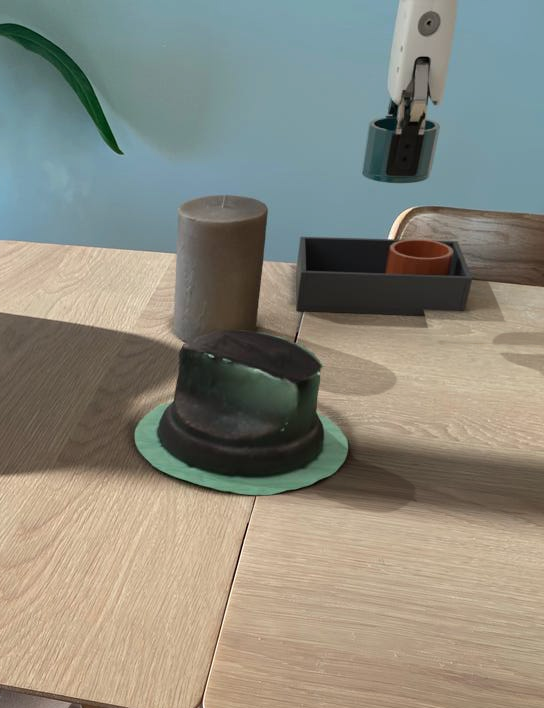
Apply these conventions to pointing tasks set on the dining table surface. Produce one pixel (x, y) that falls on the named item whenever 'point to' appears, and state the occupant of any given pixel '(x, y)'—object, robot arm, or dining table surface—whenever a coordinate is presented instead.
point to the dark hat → (244, 417)
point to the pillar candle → (218, 264)
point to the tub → (373, 279)
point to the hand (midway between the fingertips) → (397, 163)
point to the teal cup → (379, 151)
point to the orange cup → (419, 258)
